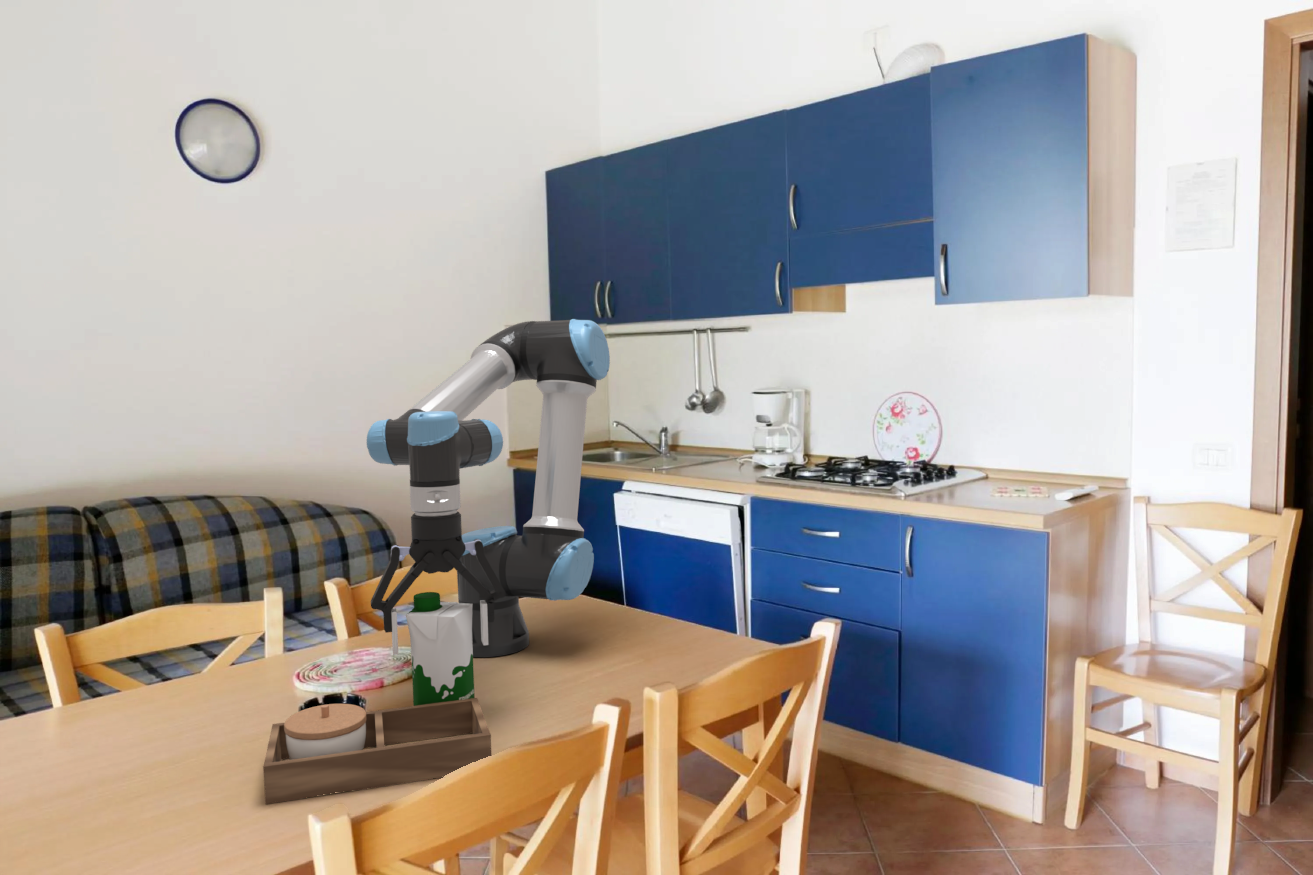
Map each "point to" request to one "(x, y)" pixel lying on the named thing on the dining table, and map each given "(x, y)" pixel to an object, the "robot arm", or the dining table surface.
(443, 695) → the soya milk
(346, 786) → the organizer
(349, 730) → the lidded jar
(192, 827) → the dining table surface
